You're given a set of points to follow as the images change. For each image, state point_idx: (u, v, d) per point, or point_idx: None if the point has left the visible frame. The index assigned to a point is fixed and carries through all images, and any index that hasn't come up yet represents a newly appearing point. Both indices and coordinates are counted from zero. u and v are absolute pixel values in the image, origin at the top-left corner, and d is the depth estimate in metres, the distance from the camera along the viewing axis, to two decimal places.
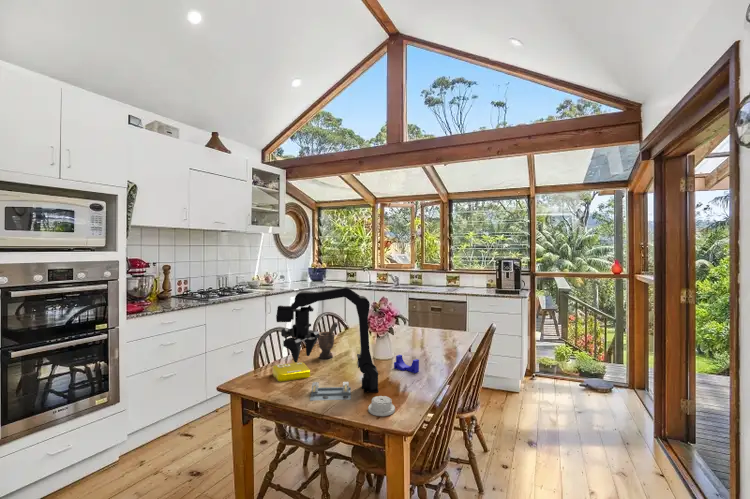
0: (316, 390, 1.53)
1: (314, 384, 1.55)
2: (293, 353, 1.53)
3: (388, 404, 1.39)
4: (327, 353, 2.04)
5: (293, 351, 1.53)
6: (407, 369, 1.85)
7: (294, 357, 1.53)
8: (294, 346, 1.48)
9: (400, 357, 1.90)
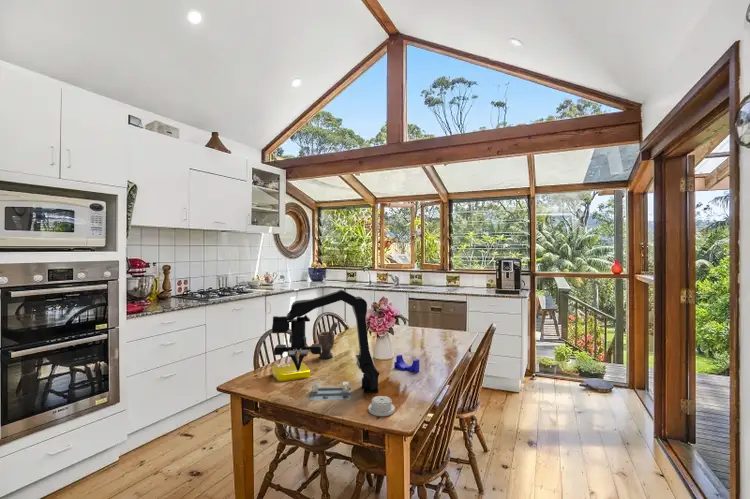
0: (316, 390, 1.53)
1: (314, 384, 1.55)
2: None
3: (388, 404, 1.39)
4: (327, 353, 2.04)
5: None
6: (407, 369, 1.86)
7: None
8: (274, 353, 1.51)
9: (400, 357, 1.91)
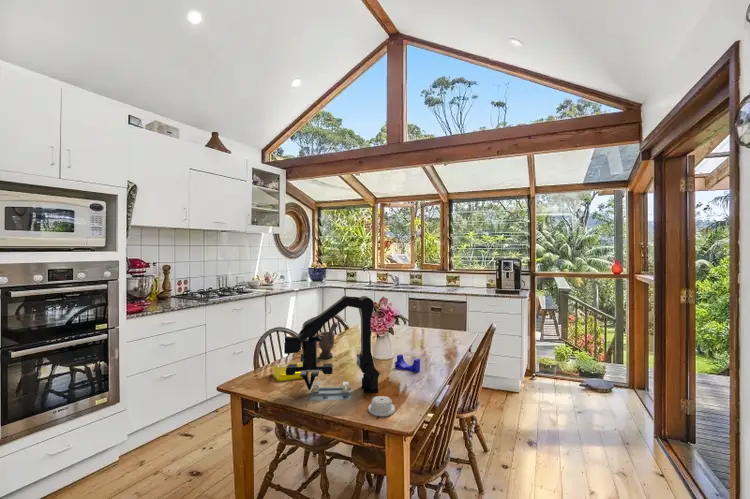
0: (317, 390, 1.53)
1: (315, 384, 1.55)
2: None
3: (388, 404, 1.39)
4: (327, 353, 2.04)
5: None
6: (408, 368, 1.86)
7: None
8: None
9: (401, 357, 1.91)
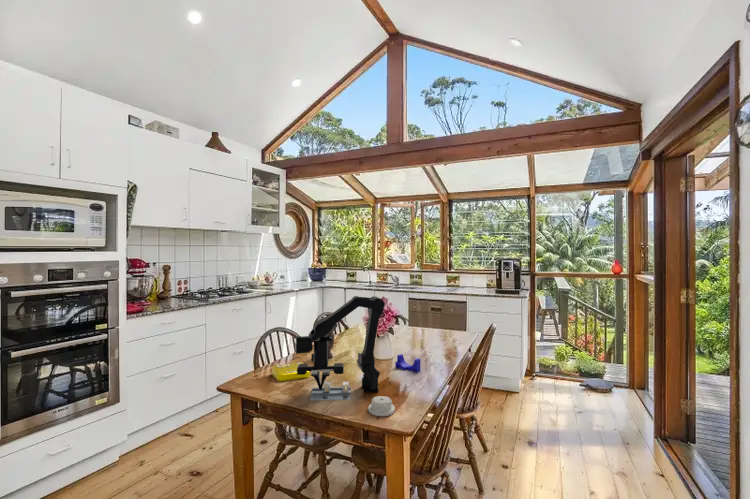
0: (328, 390, 1.54)
1: (326, 384, 1.55)
2: None
3: (388, 404, 1.39)
4: None
5: None
6: (409, 368, 1.87)
7: None
8: (297, 372, 1.52)
9: (401, 356, 1.91)
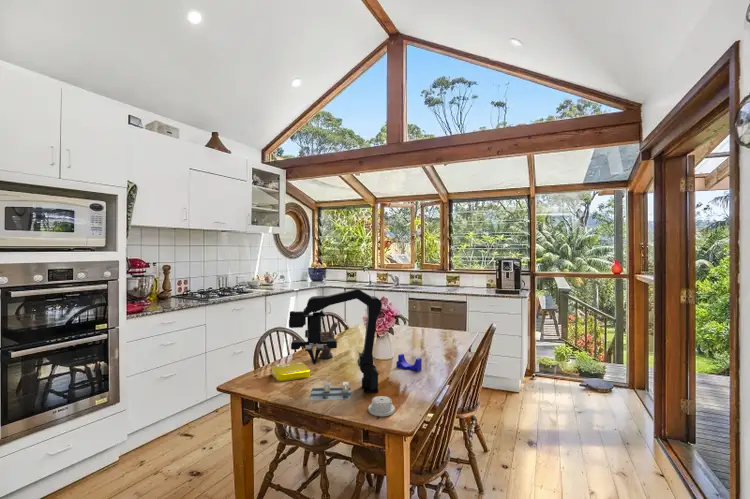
0: (328, 390, 1.54)
1: (326, 384, 1.55)
2: None
3: (388, 404, 1.39)
4: (327, 353, 2.04)
5: None
6: (410, 368, 1.87)
7: (312, 359, 1.58)
8: (291, 347, 1.55)
9: (402, 356, 1.92)
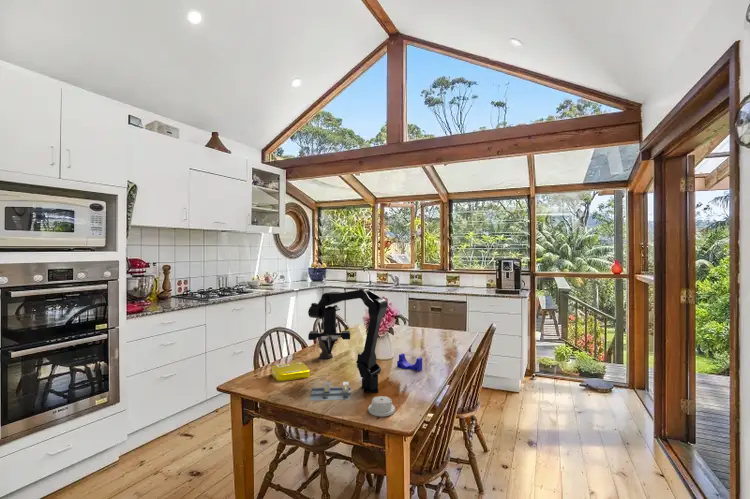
0: (328, 390, 1.54)
1: (326, 384, 1.55)
2: None
3: (388, 404, 1.39)
4: (327, 353, 2.04)
5: None
6: (411, 367, 1.88)
7: (327, 349, 1.72)
8: (308, 338, 1.69)
9: (403, 356, 1.93)
